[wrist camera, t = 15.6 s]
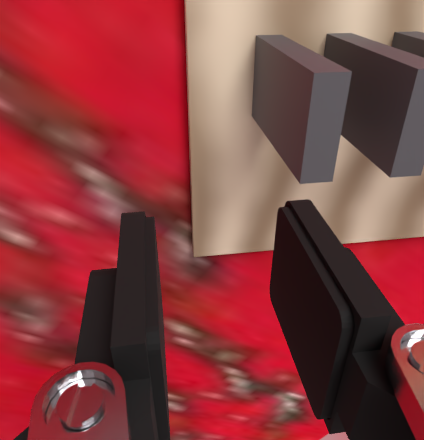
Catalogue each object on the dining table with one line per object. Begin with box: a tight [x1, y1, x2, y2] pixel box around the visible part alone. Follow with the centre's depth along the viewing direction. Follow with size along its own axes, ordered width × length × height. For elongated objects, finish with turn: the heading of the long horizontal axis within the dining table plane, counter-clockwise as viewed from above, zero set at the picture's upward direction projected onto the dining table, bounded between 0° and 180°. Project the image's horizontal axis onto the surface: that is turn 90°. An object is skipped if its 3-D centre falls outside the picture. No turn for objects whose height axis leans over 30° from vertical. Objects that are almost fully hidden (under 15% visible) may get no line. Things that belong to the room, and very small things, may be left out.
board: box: [184, 0, 424, 257], centre depth 30 cm, size 26×20×1 cm
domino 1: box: [252, 35, 352, 184], centre depth 22 cm, size 2×5×10 cm, turn 0°
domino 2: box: [324, 33, 424, 178], centre depth 22 cm, size 2×5×10 cm, turn 0°
